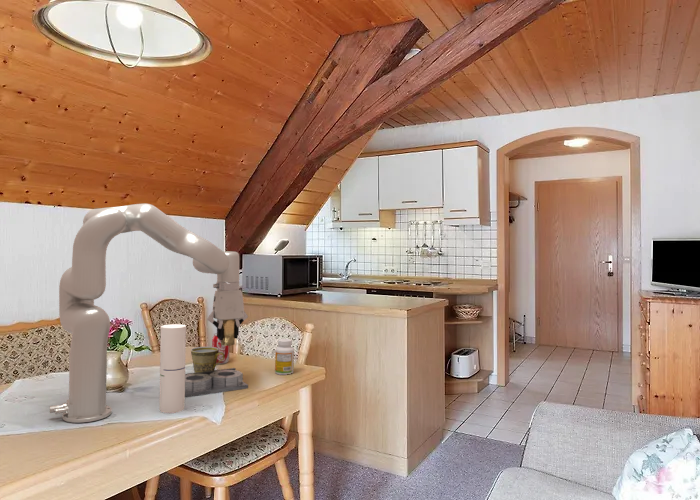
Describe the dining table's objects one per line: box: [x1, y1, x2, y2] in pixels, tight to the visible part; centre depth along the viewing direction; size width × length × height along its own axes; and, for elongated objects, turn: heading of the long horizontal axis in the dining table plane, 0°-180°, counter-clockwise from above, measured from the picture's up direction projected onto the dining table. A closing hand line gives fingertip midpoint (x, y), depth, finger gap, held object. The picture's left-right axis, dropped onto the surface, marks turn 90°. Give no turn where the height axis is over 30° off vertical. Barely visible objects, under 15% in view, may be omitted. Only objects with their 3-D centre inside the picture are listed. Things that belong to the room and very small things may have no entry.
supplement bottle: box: [274, 338, 295, 376], centre depth 197 cm, size 7×7×13 cm
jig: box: [185, 367, 249, 398], centre depth 175 cm, size 22×13×4 cm, turn 124°
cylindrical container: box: [158, 323, 187, 414], centre depth 152 cm, size 7×7×25 cm
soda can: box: [211, 332, 230, 365], centre depth 211 cm, size 7×7×12 cm
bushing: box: [221, 319, 236, 347], centre depth 178 cm, size 5×5×10 cm
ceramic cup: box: [190, 346, 225, 373], centre depth 190 cm, size 13×10×10 cm
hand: (227, 338), depth 178 cm, fingers closed on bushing, 4 cm apart
